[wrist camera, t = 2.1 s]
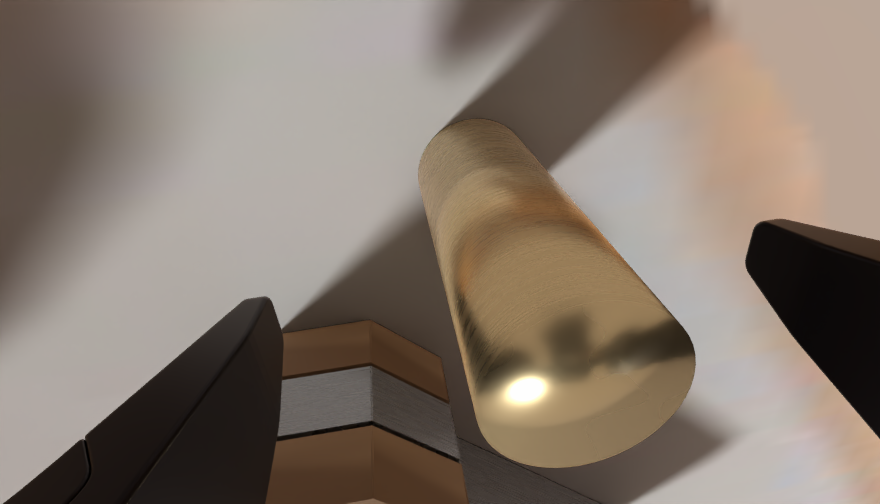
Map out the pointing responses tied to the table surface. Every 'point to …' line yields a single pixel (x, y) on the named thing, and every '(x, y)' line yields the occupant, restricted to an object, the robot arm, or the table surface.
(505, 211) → the brass pin
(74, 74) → the table surface
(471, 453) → the slate leaf
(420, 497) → the tan hinge leaf
